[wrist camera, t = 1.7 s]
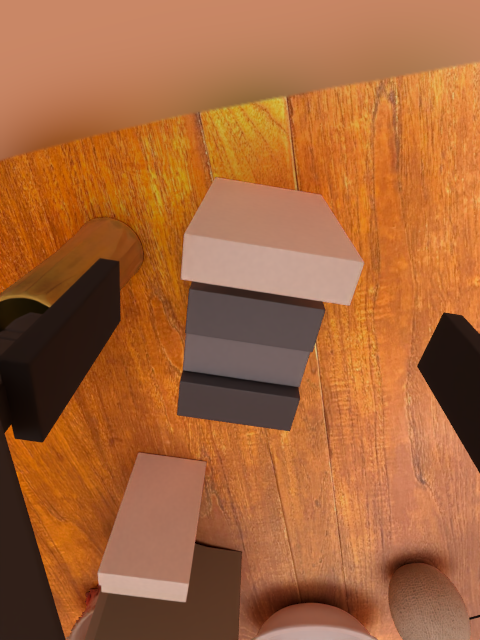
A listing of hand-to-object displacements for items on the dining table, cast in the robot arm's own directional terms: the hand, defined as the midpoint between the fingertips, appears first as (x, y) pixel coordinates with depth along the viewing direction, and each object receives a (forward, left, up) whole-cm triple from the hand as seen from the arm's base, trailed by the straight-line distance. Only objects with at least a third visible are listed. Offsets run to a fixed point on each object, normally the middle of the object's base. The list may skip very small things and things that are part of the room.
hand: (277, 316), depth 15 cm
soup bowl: (+72, +22, -20) cm, 78 cm away
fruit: (+53, +34, -20) cm, 66 cm away
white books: (+37, -6, -19) cm, 42 cm away
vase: (+6, -14, -20) cm, 25 cm away
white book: (0, 0, -19) cm, 19 cm away
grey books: (+9, 0, -19) cm, 21 cm away
